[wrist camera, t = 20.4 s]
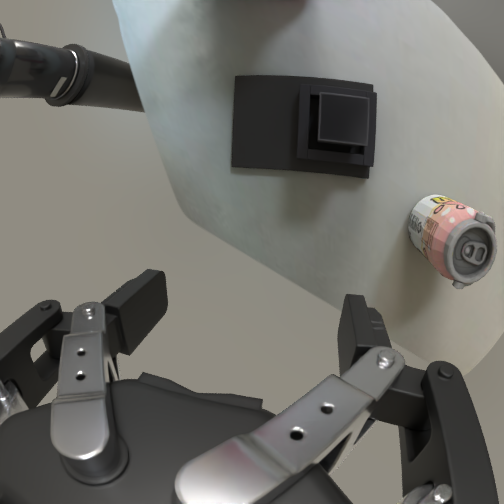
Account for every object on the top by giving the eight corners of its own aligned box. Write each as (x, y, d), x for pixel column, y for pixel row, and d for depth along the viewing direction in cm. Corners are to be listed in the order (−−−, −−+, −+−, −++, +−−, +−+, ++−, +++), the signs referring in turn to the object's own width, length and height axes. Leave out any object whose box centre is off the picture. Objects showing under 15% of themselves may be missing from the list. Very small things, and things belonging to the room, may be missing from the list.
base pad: (233, 166, 36) (225, 168, 33) (237, 77, 32) (229, 70, 29) (367, 178, 34) (372, 180, 30) (371, 86, 29) (377, 80, 26)
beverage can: (469, 203, 31) (517, 226, 20) (452, 260, 34) (491, 299, 23) (414, 185, 32) (455, 201, 21) (398, 245, 35) (429, 285, 24)
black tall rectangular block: (315, 143, 33) (317, 140, 24) (317, 106, 31) (319, 91, 23) (353, 147, 32) (367, 146, 23) (355, 110, 30) (369, 98, 22)
